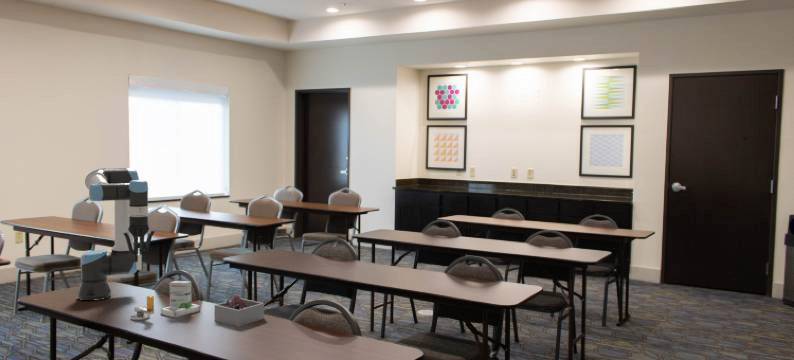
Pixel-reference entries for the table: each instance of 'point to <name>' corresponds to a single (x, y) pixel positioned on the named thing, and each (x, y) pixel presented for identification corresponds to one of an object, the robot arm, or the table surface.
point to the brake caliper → (235, 303)
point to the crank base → (140, 316)
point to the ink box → (180, 294)
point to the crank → (149, 308)
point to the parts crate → (239, 313)
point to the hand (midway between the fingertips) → (138, 268)
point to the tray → (179, 311)
